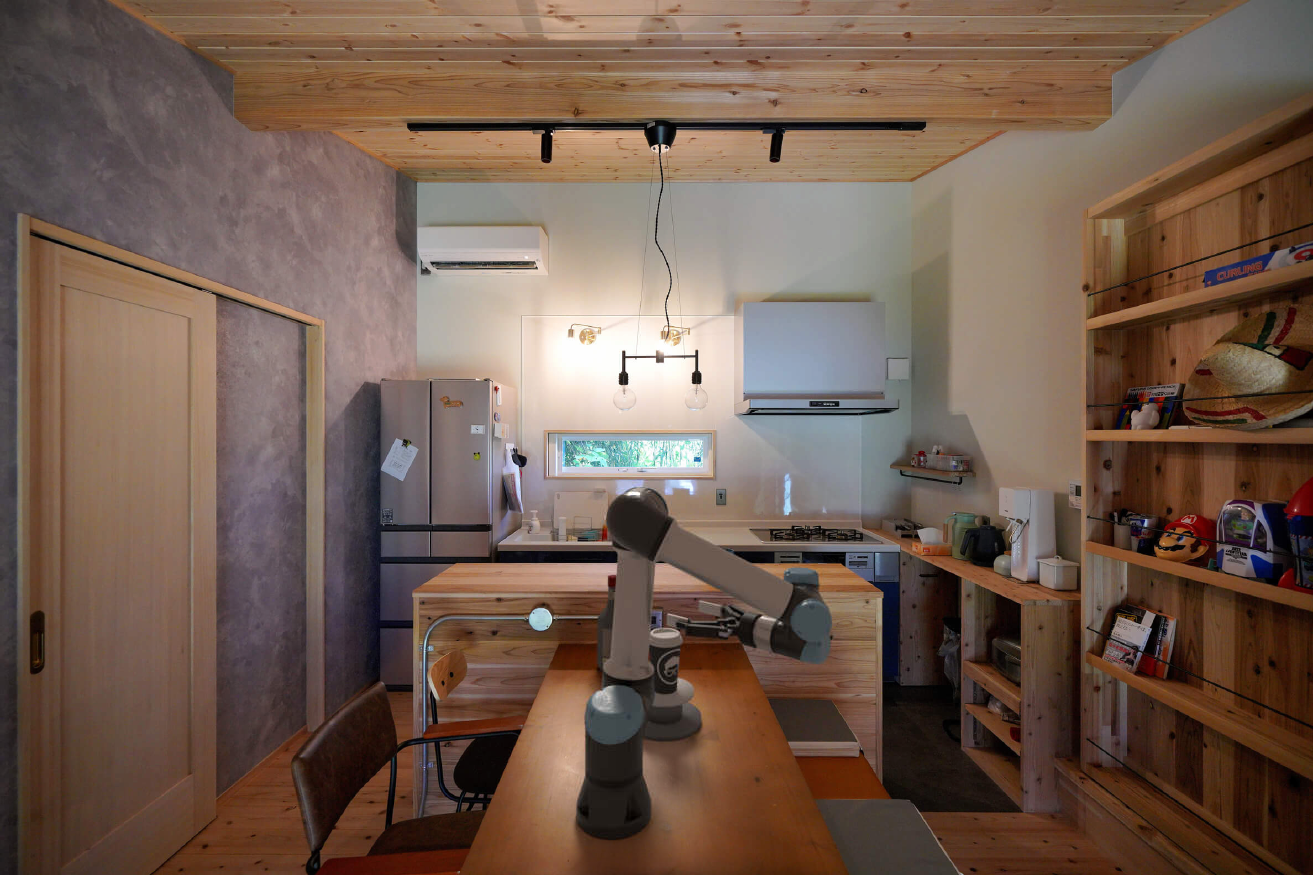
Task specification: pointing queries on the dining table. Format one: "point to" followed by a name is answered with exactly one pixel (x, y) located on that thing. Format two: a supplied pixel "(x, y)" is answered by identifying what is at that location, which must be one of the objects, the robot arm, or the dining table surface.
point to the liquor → (606, 625)
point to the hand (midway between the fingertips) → (684, 612)
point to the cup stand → (673, 715)
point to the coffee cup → (665, 658)
